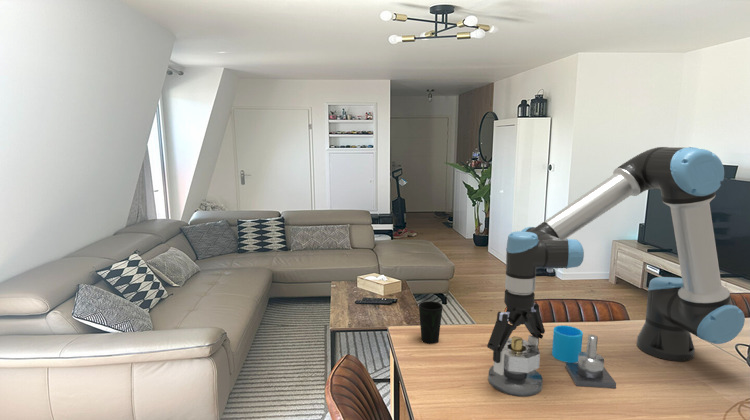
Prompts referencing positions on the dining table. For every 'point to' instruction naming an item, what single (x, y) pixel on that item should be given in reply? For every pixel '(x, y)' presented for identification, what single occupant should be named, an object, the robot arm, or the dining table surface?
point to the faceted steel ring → (521, 357)
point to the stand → (590, 368)
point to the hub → (516, 378)
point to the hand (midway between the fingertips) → (515, 365)
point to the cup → (430, 321)
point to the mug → (567, 343)
